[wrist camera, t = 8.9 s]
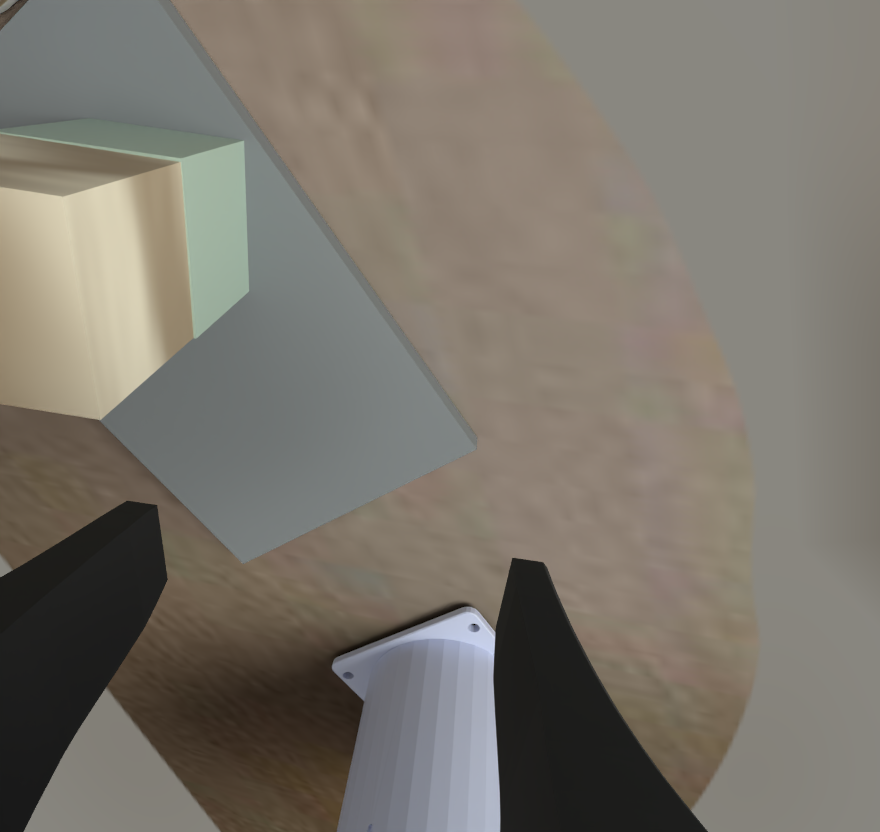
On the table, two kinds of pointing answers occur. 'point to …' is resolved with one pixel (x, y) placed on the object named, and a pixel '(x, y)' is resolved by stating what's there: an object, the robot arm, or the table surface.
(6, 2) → the pill bottle
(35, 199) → the birch block
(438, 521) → the table surface
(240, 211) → the sage block
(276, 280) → the board
